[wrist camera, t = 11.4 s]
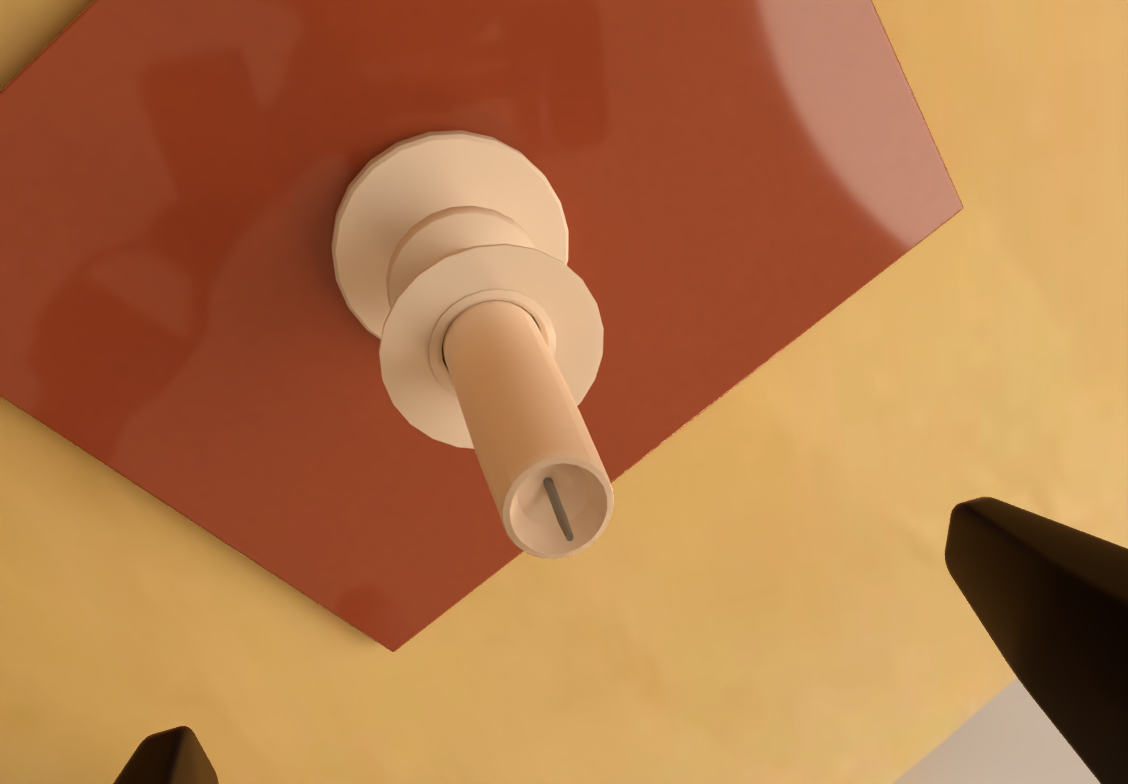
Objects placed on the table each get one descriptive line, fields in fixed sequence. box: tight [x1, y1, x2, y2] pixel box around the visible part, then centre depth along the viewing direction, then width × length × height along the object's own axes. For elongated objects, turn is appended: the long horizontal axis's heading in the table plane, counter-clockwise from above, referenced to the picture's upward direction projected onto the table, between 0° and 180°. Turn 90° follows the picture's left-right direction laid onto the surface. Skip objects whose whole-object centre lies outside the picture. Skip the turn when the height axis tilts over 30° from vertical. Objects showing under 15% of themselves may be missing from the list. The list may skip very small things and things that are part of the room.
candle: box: [331, 130, 614, 559], centre depth 14 cm, size 5×5×10 cm
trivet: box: [0, 0, 963, 652], centre depth 19 cm, size 20×16×1 cm
